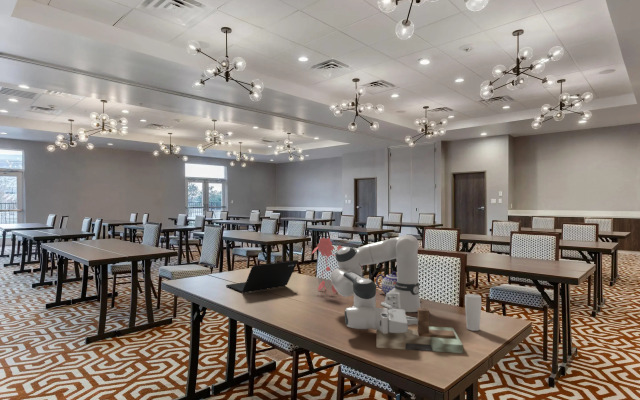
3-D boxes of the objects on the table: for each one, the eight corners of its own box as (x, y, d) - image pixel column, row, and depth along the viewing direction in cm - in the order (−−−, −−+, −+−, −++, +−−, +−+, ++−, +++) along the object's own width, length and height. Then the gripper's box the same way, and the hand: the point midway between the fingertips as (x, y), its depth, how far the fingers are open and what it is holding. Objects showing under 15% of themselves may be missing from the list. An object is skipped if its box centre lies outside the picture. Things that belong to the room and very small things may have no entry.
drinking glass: (467, 326, 171) (467, 293, 171) (483, 329, 167) (483, 295, 167) (462, 329, 166) (462, 295, 166) (478, 333, 161) (478, 298, 162)
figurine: (316, 287, 248) (316, 235, 247) (348, 293, 231) (348, 237, 231) (301, 292, 236) (300, 237, 235) (333, 299, 219) (333, 239, 219)
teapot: (370, 294, 230) (370, 270, 231) (383, 290, 242) (383, 267, 242) (406, 301, 214) (406, 275, 214) (418, 296, 225) (418, 272, 225)
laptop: (268, 281, 270) (268, 254, 271) (298, 290, 241) (298, 260, 241) (225, 287, 250) (225, 258, 250) (251, 298, 220) (252, 265, 221)
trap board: (376, 347, 144) (376, 339, 144) (376, 330, 164) (376, 323, 164) (463, 353, 139) (463, 345, 139) (452, 334, 159) (452, 327, 159)
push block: (418, 336, 149) (418, 310, 149) (417, 331, 155) (417, 306, 155) (455, 338, 146) (455, 312, 146) (452, 333, 152) (452, 308, 152)
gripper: (383, 319, 164) (415, 320, 162) (383, 335, 144) (420, 337, 142) (383, 304, 164) (415, 306, 162) (383, 318, 144) (420, 320, 142)
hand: (418, 320), depth 152 cm, fingers closed, pressing on push block
